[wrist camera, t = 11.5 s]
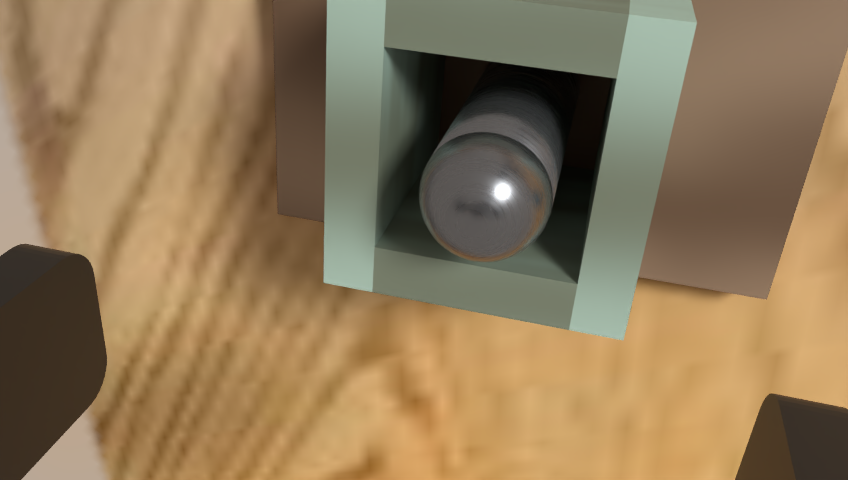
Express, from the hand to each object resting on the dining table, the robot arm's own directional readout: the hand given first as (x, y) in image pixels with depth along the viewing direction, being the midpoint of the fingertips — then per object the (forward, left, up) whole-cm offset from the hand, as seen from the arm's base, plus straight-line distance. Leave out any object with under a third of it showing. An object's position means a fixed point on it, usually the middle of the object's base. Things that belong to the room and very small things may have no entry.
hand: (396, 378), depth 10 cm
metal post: (0, 0, -13) cm, 13 cm away
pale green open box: (0, 0, -13) cm, 13 cm away
